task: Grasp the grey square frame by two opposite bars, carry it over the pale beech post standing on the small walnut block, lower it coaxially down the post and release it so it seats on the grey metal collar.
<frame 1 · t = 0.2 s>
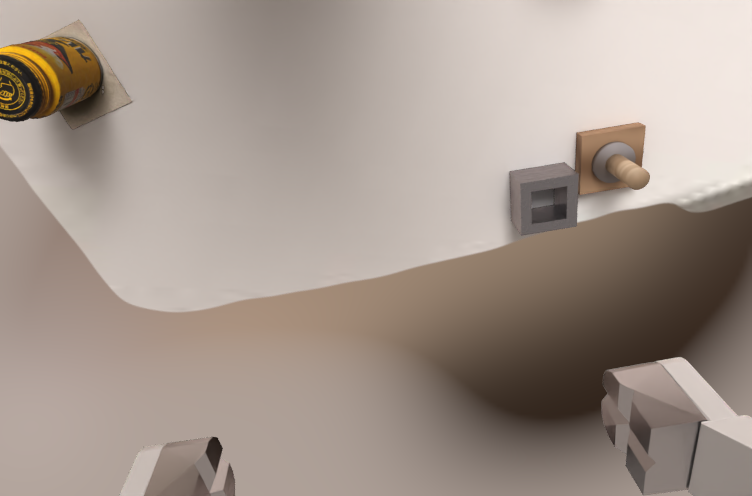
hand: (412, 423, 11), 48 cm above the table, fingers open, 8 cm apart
condiment: (77, 76, 52), on the table
grey square frame: (537, 192, 60), on the table
post block: (605, 157, 59), on the table
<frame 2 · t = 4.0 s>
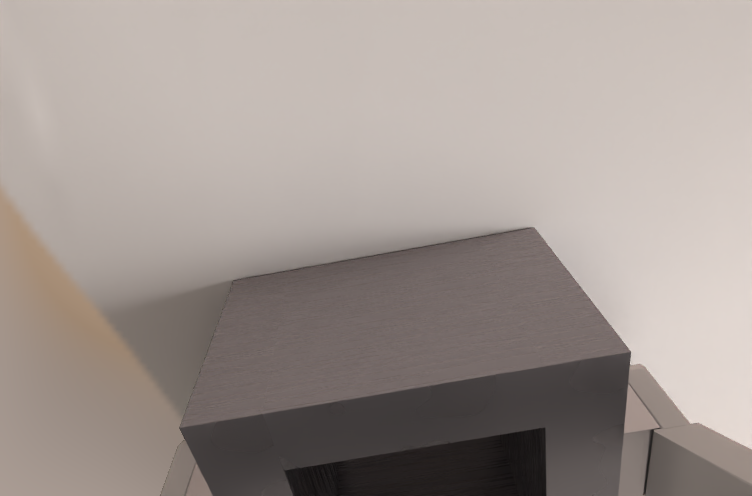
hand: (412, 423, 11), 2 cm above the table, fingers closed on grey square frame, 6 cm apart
grey square frame: (404, 369, 12), on the table, touching gripper
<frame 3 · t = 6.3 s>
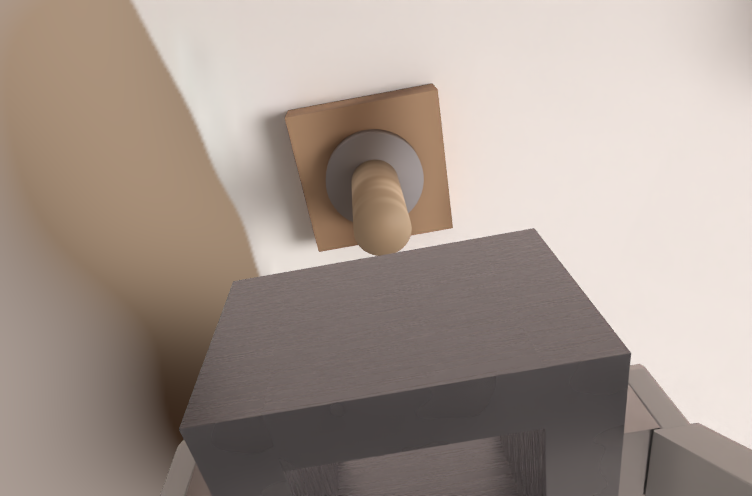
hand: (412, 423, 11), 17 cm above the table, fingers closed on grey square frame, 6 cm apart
grey square frame: (404, 370, 12), point 15 cm above the table, touching gripper
post block: (372, 166, 26), on the table
when the fingers open (6 cm above the table, at t = 8.9 s): grey square frame drops 2 cm, resting on post block.
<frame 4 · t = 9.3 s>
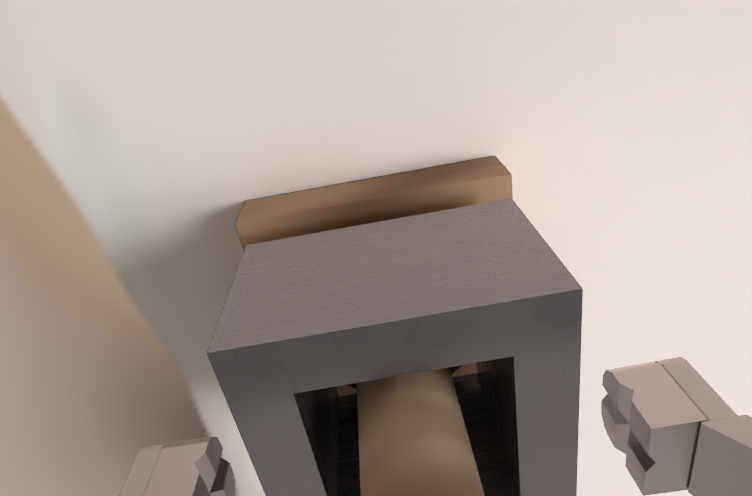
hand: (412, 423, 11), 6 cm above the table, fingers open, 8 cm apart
grey square frame: (397, 328, 14), point 2 cm above the table, touching post block
post block: (388, 284, 16), on the table
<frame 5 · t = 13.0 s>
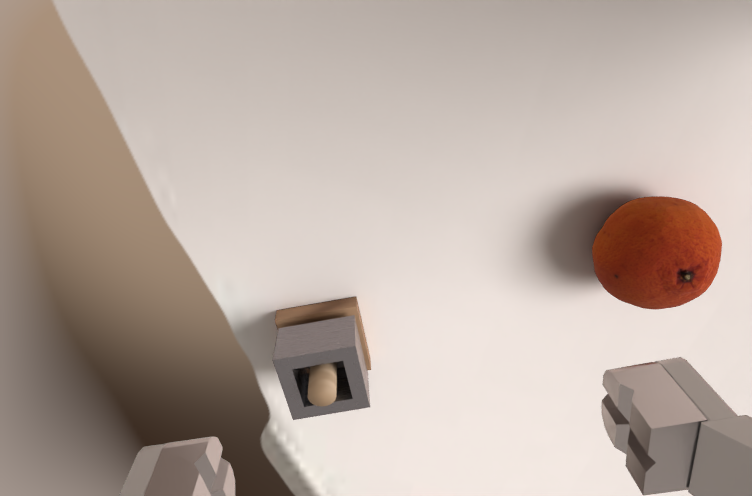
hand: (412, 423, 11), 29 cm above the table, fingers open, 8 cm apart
grey square frame: (324, 351, 43), point 2 cm above the table, touching post block
post block: (325, 335, 45), on the table
fruit: (627, 232, 43), on the table
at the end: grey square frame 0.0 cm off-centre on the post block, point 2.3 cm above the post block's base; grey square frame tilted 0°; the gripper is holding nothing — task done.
